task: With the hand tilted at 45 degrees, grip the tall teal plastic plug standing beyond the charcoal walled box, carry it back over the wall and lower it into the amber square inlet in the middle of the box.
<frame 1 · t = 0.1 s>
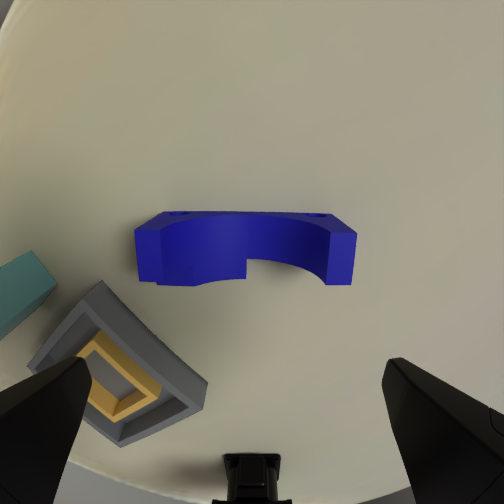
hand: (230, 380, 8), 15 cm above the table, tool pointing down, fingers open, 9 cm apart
plug: (35, 279, 23), on the table
socket box: (114, 367, 26), on the table
cable clip: (246, 241, 22), on the table
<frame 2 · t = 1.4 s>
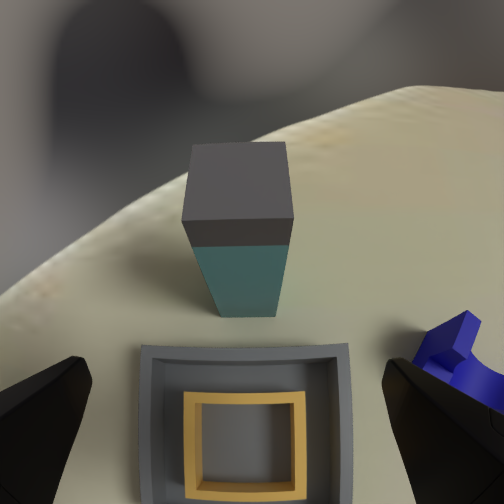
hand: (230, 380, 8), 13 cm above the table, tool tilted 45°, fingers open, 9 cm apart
plug: (248, 291, 23), on the table
socket box: (246, 443, 18), on the table
cable clip: (460, 389, 19), on the table
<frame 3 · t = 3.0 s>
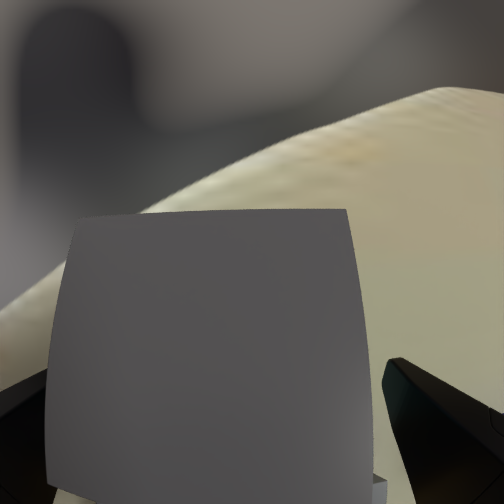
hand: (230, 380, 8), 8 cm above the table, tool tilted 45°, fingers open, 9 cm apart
plug: (244, 392, 15), on the table
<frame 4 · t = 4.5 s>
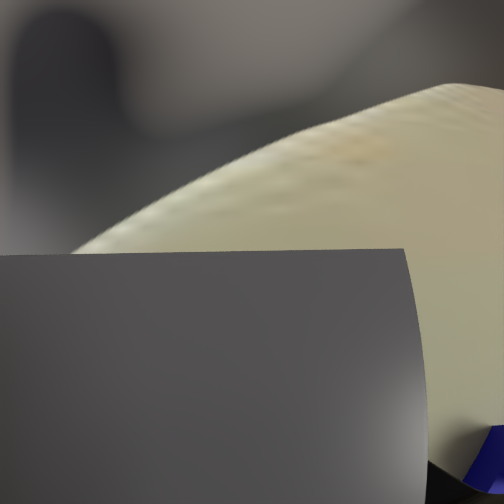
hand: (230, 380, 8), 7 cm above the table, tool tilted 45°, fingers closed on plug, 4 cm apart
plug: (242, 415, 13), on the table, touching gripper
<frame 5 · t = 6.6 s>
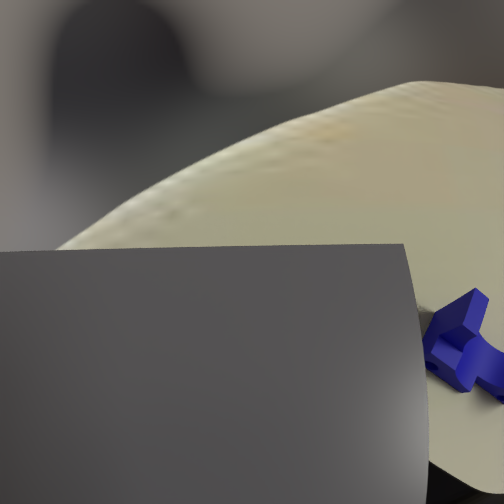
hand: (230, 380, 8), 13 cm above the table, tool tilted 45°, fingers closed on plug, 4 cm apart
plug: (242, 414, 13), point 7 cm above the table, touching gripper
cable clip: (469, 370, 19), on the table
when the fingers open (8 cm above the table, at t = 8.5 s): plug stays where it is, resting on socket box.
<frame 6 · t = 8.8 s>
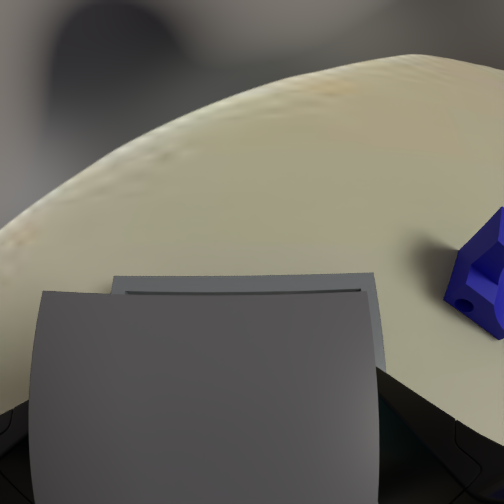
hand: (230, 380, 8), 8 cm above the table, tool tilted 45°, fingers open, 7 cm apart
plug: (242, 414, 14), point 1 cm above the table, touching socket box
socket box: (244, 413, 14), on the table
cable clip: (502, 315, 16), on the table
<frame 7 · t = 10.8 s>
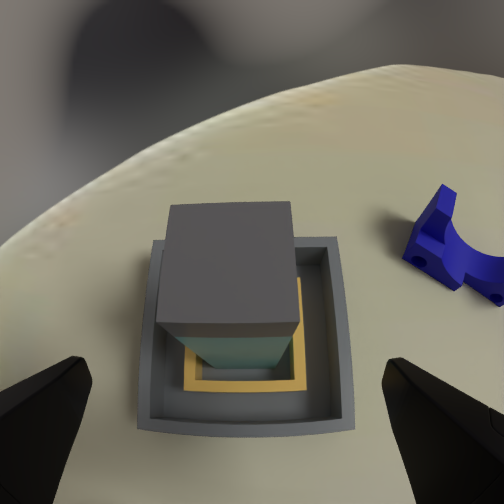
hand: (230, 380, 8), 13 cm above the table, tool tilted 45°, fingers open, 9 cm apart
plug: (245, 340, 21), point 1 cm above the table, touching socket box
socket box: (246, 342, 21), on the table
cable clip: (457, 273, 23), on the table
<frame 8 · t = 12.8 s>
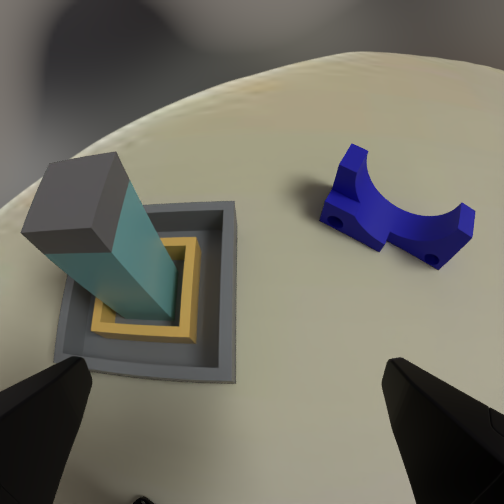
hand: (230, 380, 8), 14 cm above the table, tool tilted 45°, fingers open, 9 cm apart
plug: (152, 295, 23), point 1 cm above the table, touching socket box
socket box: (154, 297, 23), on the table
cable clip: (385, 235, 26), on the table
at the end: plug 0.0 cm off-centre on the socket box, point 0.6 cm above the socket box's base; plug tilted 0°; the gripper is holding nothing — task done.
